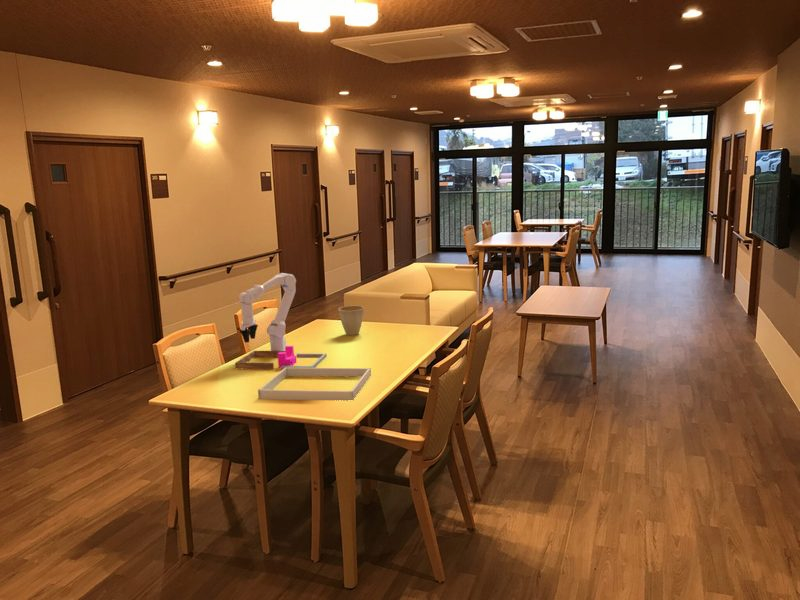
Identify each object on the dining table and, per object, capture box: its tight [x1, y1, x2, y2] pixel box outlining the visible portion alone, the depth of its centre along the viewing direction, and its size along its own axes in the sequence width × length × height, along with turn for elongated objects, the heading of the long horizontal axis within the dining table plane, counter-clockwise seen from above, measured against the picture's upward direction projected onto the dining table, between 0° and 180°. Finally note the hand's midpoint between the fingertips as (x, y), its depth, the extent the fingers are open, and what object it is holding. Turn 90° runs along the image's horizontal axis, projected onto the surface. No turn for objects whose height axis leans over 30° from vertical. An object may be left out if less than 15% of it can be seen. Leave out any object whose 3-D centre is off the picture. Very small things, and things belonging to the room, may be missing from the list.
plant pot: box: [338, 305, 365, 336], centre depth 381 cm, size 15×15×16 cm
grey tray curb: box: [257, 367, 372, 402], centre depth 287 cm, size 33×42×4 cm
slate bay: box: [280, 352, 328, 370], centre depth 327 cm, size 23×16×2 cm
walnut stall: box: [234, 350, 285, 370], centre depth 331 cm, size 23×20×3 cm
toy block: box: [277, 345, 297, 369], centre depth 327 cm, size 15×6×8 cm, turn 173°
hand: (249, 340), depth 336 cm, fingers open, 7 cm apart
